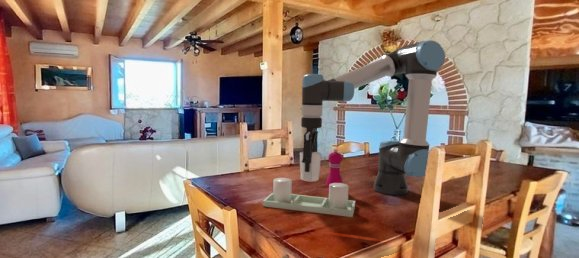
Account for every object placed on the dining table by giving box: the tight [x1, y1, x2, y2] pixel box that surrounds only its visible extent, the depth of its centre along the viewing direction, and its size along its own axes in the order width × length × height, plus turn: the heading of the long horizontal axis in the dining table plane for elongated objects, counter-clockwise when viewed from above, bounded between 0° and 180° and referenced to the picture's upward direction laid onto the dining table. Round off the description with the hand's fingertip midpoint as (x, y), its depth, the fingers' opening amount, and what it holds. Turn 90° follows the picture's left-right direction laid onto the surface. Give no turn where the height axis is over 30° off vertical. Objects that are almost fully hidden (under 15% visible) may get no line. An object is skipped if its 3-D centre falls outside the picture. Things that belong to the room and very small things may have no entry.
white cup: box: [299, 151, 322, 183], centre depth 117 cm, size 8×8×10 cm
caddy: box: [262, 192, 356, 218], centre depth 118 cm, size 33×12×3 cm, turn 74°
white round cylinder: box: [328, 183, 349, 210], centre depth 115 cm, size 7×7×9 cm
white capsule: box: [272, 177, 293, 203], centre depth 121 cm, size 7×7×9 cm
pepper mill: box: [325, 148, 344, 194], centre depth 136 cm, size 7×7×20 cm
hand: (309, 177), depth 117 cm, fingers closed on white cup, 8 cm apart
